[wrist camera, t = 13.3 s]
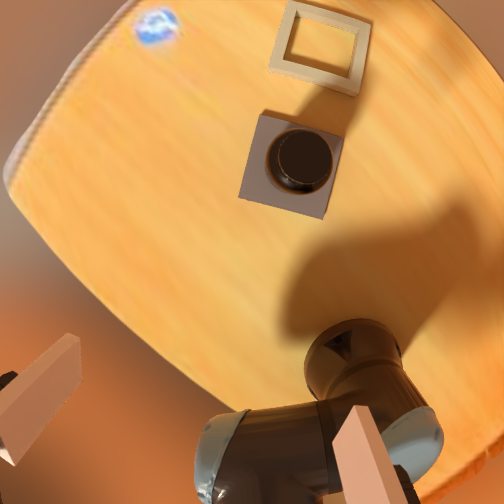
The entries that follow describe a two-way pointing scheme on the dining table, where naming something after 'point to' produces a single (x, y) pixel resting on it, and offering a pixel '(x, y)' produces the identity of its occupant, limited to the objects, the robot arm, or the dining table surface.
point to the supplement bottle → (299, 161)
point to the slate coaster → (258, 183)
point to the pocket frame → (313, 74)
